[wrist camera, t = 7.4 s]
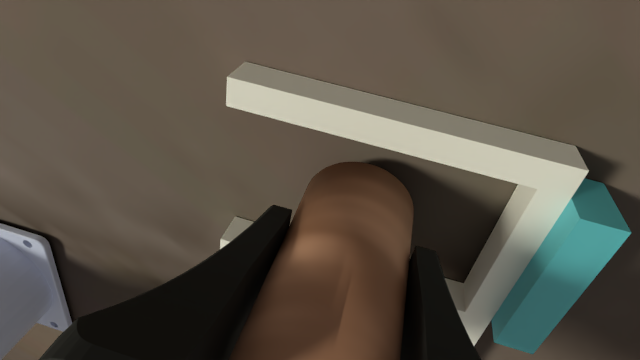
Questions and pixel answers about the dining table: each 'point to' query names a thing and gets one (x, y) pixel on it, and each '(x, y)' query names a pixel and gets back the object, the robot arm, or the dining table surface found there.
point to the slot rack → (480, 157)
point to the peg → (337, 273)
